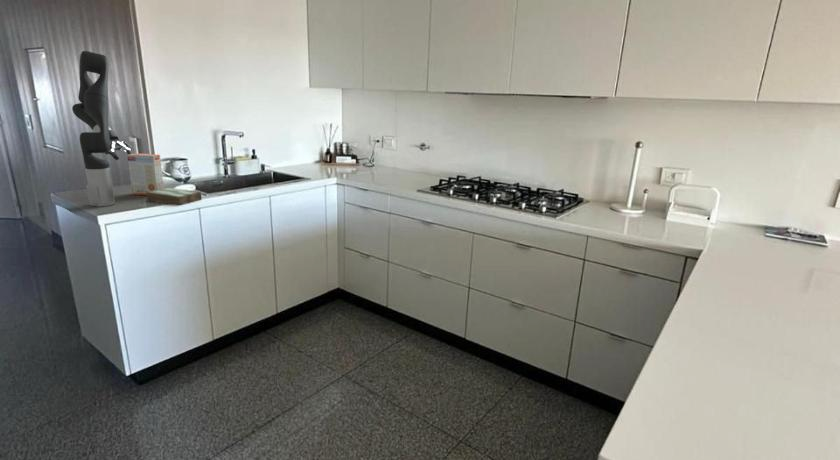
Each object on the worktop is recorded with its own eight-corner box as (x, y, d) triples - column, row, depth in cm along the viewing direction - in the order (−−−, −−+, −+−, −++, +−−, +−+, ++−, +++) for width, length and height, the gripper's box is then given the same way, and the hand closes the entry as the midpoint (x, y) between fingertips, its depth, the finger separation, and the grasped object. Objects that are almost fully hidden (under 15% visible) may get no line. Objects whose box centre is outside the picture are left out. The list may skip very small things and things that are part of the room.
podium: (179, 205, 219) (178, 196, 218) (147, 200, 224) (146, 192, 223) (201, 199, 232) (200, 191, 230) (170, 195, 237) (169, 187, 236)
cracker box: (165, 194, 239) (160, 154, 233) (157, 196, 233) (152, 155, 227) (140, 192, 240) (134, 152, 234) (132, 194, 234) (126, 154, 228)
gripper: (95, 130, 227) (116, 154, 227) (121, 128, 240) (140, 152, 240) (89, 140, 230) (109, 164, 230) (115, 138, 243) (134, 161, 243)
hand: (125, 158), depth 235 cm, fingers open, 8 cm apart
